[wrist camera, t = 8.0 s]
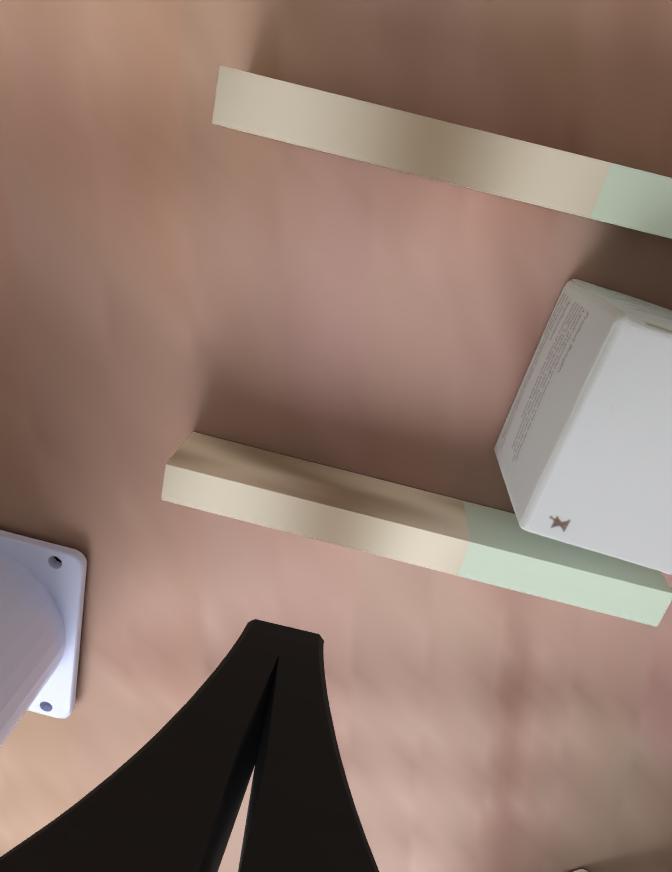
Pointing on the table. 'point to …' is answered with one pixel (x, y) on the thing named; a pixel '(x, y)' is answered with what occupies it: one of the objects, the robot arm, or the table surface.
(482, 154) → the parallel cream rails
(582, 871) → the ink cartridge box
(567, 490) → the small box
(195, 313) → the table surface
